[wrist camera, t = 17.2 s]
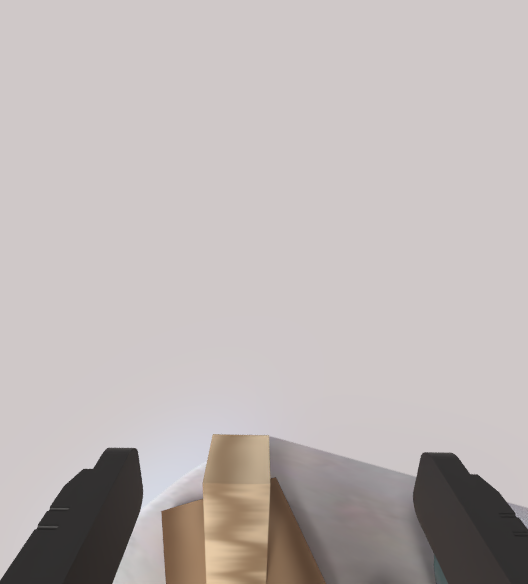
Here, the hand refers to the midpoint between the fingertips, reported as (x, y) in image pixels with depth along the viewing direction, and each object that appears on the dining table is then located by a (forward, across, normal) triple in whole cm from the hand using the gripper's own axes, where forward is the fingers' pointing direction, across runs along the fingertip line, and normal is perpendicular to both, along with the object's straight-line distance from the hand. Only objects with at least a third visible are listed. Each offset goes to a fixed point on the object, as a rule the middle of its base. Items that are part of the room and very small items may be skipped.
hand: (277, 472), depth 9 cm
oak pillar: (+15, +3, +27) cm, 31 cm away
